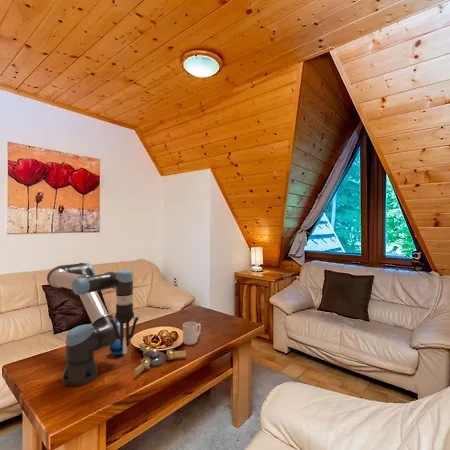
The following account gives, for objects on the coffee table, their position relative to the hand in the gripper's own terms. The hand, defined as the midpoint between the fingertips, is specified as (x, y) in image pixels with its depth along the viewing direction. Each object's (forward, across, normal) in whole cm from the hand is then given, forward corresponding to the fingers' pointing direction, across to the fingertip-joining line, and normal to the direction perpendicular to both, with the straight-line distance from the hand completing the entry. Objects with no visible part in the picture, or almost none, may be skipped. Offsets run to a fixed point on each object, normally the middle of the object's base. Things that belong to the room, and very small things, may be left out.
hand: (124, 352), depth 134 cm
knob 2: (+11, +8, +3) cm, 14 cm away
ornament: (+12, -7, +25) cm, 28 cm away
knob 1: (+11, +8, +23) cm, 26 cm away
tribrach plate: (+12, +13, +13) cm, 22 cm away
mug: (+12, +35, +33) cm, 49 cm away
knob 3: (+11, +25, +13) cm, 30 cm away
